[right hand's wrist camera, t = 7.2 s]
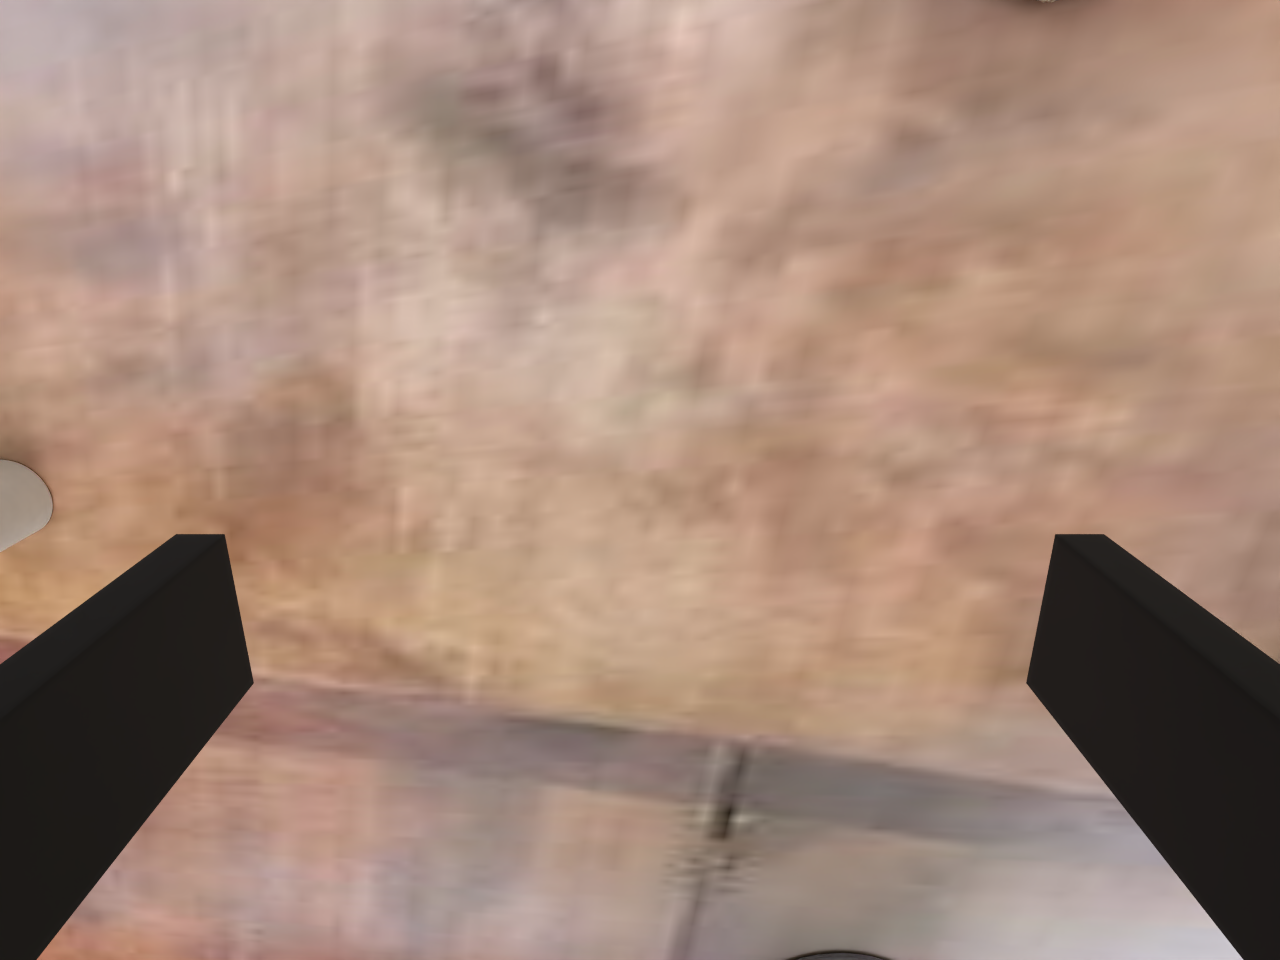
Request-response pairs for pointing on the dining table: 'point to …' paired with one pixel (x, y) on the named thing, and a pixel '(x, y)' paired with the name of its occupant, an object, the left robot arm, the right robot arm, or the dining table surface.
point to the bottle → (21, 503)
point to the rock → (1047, 1)
